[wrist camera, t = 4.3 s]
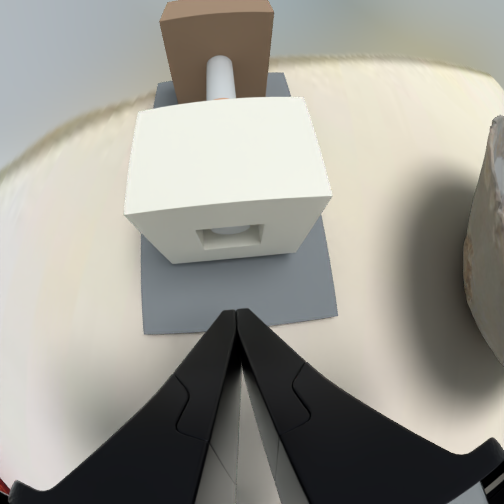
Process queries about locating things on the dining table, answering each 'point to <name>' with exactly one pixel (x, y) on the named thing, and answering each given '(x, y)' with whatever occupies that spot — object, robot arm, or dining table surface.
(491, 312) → the ceramic bowl
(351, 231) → the dining table surface
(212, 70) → the rod stand
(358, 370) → the dining table surface
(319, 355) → the dining table surface
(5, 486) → the mug
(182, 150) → the sleeve
